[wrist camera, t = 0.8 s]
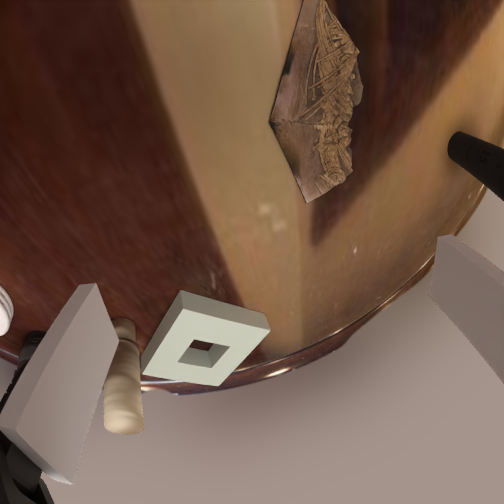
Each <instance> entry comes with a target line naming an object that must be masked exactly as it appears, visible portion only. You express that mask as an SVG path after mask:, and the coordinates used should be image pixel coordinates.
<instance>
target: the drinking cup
mask: <svg viewBox="0 0 504 504" xmlns="http://www.w3.org/2000/svg"><path fill="white" fill-rule="evenodd" d="M448 154H449V157H450V158H451V159H452V160H453V161H455V162H456V163H458V164H459V165H460V166H462V167H463V168H464V169H465V170H467V171H468V172H469V173H471V174H472V175H473V176H474V177H476V178H477V179H478V180H479V181H481V182H482V183H483V184H484V185H485V186H487V187H488V188H489V189H490V190H491V191H492V192H494V193H495V194H496V195H497V196H498V197H500V198H501V199H502V200H503V201H504V149H502V148H500V147H498V146H495V145H493V144H491V143H488V142H486V141H483V140H481V139H478V138H476V137H473V136H470V135H468V134H465V133H462V132H457V133H455V134H454V135H453V136H452V137H451V139H450V141H449V145H448Z"/></svg>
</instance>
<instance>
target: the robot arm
mask: <svg viewBox="0 0 504 504" xmlns="http://www.w3.org/2000/svg"><path fill="white" fill-rule="evenodd" d="M428 295H429V297H430V298H431V299H432V300H433V301H434V302H435V303H436V304H437V305H438V306H439V307H440V308H441V310H442V311H443V312H444V313H445V314H446V315H447V316H448V317H449V318H450V319H451V320H452V322H453V323H454V324H455V325H456V326H457V327H458V329H460V331H461V332H462V333H463V334H464V335H465V337H466V338H467V339H468V340H469V341H470V342H471V343H472V345H473V346H474V347H475V348H476V350H477V351H478V352H479V353H480V354H481V356H482V357H483V358H484V359H485V361H486V362H487V363H488V364H489V366H490V367H491V368H492V369H493V371H494V372H495V373H496V374H497V376H498V377H499V378H500V380H501V381H502V382H503V384H504V272H503V271H502V270H501V269H499V268H498V267H497V266H496V265H494V264H493V263H492V262H490V261H489V260H487V259H486V258H485V257H483V256H482V255H481V254H479V253H478V252H476V251H475V250H474V249H472V248H471V247H469V246H468V245H466V244H465V243H464V242H462V241H461V240H459V239H458V238H456V237H455V236H453V235H452V234H451V235H445V236H438V241H437V248H436V255H435V262H434V268H433V274H432V279H431V284H430V289H429V294H428ZM118 343H119V339H118V337H117V334H116V332H115V330H114V327H113V325H112V322H111V320H110V318H109V315H108V313H107V310H106V308H105V305H104V303H103V300H102V297H101V295H100V292H99V289H98V287H97V284H96V283H92V284H83V285H79V286H78V288H77V289H76V290H75V292H74V293H73V295H72V296H71V297H70V299H69V300H68V302H67V303H66V305H65V306H64V308H63V309H62V310H61V312H60V313H59V315H58V316H57V318H56V319H55V321H54V322H53V324H52V325H51V327H50V328H49V330H48V332H47V333H46V335H45V336H44V338H43V339H42V341H41V343H40V344H39V346H38V347H37V349H36V351H35V352H34V354H33V356H32V357H31V359H30V360H28V361H27V362H26V363H25V364H24V365H23V366H22V367H21V368H20V369H19V370H18V371H17V373H16V375H15V376H14V378H13V380H12V384H10V385H9V387H8V389H7V390H6V391H7V393H5V394H4V396H3V398H2V400H1V402H0V504H54V502H53V500H52V497H51V495H50V493H49V491H48V488H47V486H46V484H45V483H44V481H43V480H42V479H41V478H40V476H41V473H42V471H43V472H44V473H46V474H47V475H48V476H49V477H50V478H52V479H53V480H55V481H59V482H63V483H67V484H71V485H74V483H75V478H76V474H77V471H78V467H79V462H80V459H81V455H82V451H83V448H84V445H85V441H86V438H87V434H88V431H89V428H90V424H91V421H92V418H93V415H94V412H95V409H96V405H97V402H98V399H99V396H100V393H101V391H102V388H103V385H104V382H105V379H106V376H107V373H108V370H109V368H110V365H111V362H112V359H113V357H114V354H115V351H116V349H117V346H118Z"/></svg>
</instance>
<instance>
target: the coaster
mask: <svg viewBox="0 0 504 504" xmlns="http://www.w3.org/2000/svg"><path fill="white" fill-rule="evenodd" d="M13 312H14V309H13V303H12V300H11V298H10V296H9V295H8V293H7V292H6V291H5V289H4V288H3V287H2V286H1V285H0V336H2V335H4V334H5V333H6V332H7V331H8V329H9V326H10V323H11V320H12V317H13Z"/></svg>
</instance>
